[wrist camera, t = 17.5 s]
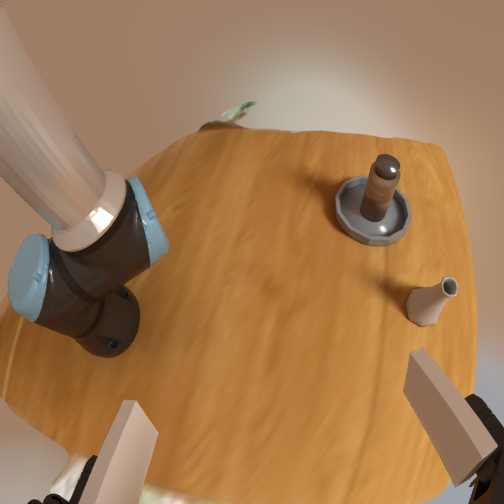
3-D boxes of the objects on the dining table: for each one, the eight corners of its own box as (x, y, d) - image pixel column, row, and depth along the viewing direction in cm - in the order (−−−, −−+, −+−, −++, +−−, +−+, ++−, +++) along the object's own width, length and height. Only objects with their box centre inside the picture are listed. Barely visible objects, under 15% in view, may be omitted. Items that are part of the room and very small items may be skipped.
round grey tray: (337, 245, 47) (338, 238, 45) (332, 182, 54) (333, 174, 52) (412, 247, 44) (417, 241, 42) (398, 186, 51) (401, 178, 49)
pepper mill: (361, 221, 48) (375, 173, 36) (358, 199, 50) (370, 150, 39) (387, 222, 47) (406, 176, 35) (383, 201, 49) (399, 153, 38)
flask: (407, 283, 41) (430, 258, 33) (441, 292, 39) (468, 268, 31) (402, 323, 39) (427, 305, 30) (437, 331, 37) (468, 314, 28)
